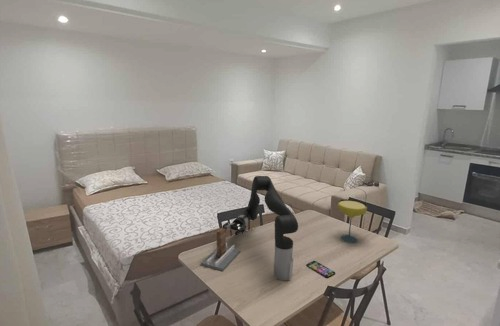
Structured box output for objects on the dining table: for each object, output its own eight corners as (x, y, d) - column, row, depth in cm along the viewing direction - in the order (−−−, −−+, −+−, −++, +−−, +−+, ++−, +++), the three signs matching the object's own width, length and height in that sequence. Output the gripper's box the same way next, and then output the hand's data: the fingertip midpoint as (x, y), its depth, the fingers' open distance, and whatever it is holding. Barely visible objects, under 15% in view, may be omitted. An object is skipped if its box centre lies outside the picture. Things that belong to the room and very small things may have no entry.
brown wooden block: (225, 254, 164) (225, 229, 161) (221, 258, 159) (221, 232, 156) (221, 253, 165) (221, 228, 162) (216, 257, 161) (216, 231, 157)
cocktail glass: (368, 239, 188) (372, 204, 183) (354, 248, 176) (358, 211, 171) (343, 230, 201) (346, 197, 196) (329, 238, 189) (332, 203, 184)
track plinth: (240, 252, 170) (240, 246, 169) (223, 271, 150) (223, 265, 149) (220, 247, 175) (220, 241, 174) (200, 265, 155) (200, 259, 155)
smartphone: (314, 260, 161) (336, 272, 150) (314, 261, 162) (336, 274, 150) (305, 264, 157) (327, 277, 145) (305, 266, 157) (327, 279, 145)
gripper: (230, 215, 185) (218, 224, 171) (250, 218, 180) (240, 228, 165) (230, 225, 187) (218, 235, 172) (250, 229, 182) (239, 240, 167)
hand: (229, 232), depth 169 cm, fingers open, 8 cm apart
